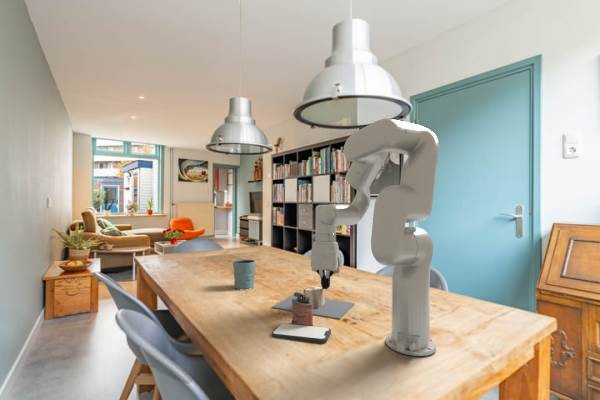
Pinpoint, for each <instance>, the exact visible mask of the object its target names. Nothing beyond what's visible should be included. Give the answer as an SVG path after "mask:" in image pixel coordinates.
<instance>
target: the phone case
mask: <svg viewBox="0 0 600 400" xmlns="http://www.w3.org/2000/svg"><path fill="white" fill-rule="evenodd" d="M331 335H332V329H331V328H330V327H322V326H314V325H313V326H304V325H294V324H292V323H280V324H279V325H277V327H276V328H275V329H274V330H273V331H272V332H271V337H272V338H276V339H282V338H283V339H282V340H291V341H298V342H307V343H313V344H321V345H324V344H327V342H328V341H329V338H330V336H331Z"/></svg>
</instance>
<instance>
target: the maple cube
mask: <svg viewBox="0 0 600 400" xmlns="http://www.w3.org/2000/svg"><path fill="white" fill-rule="evenodd" d="M325 291H326V289H322V286H321V287H320V286H316V285H314V286H313V285H309V286H307V287H306V288H304V289H303V293H306V295H308V296H310V299H309V302H312V303H313V308H320V307H321V306H322V305H324V304H325V299H326V298H325V295H326V294H325V293H326V292H325Z"/></svg>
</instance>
